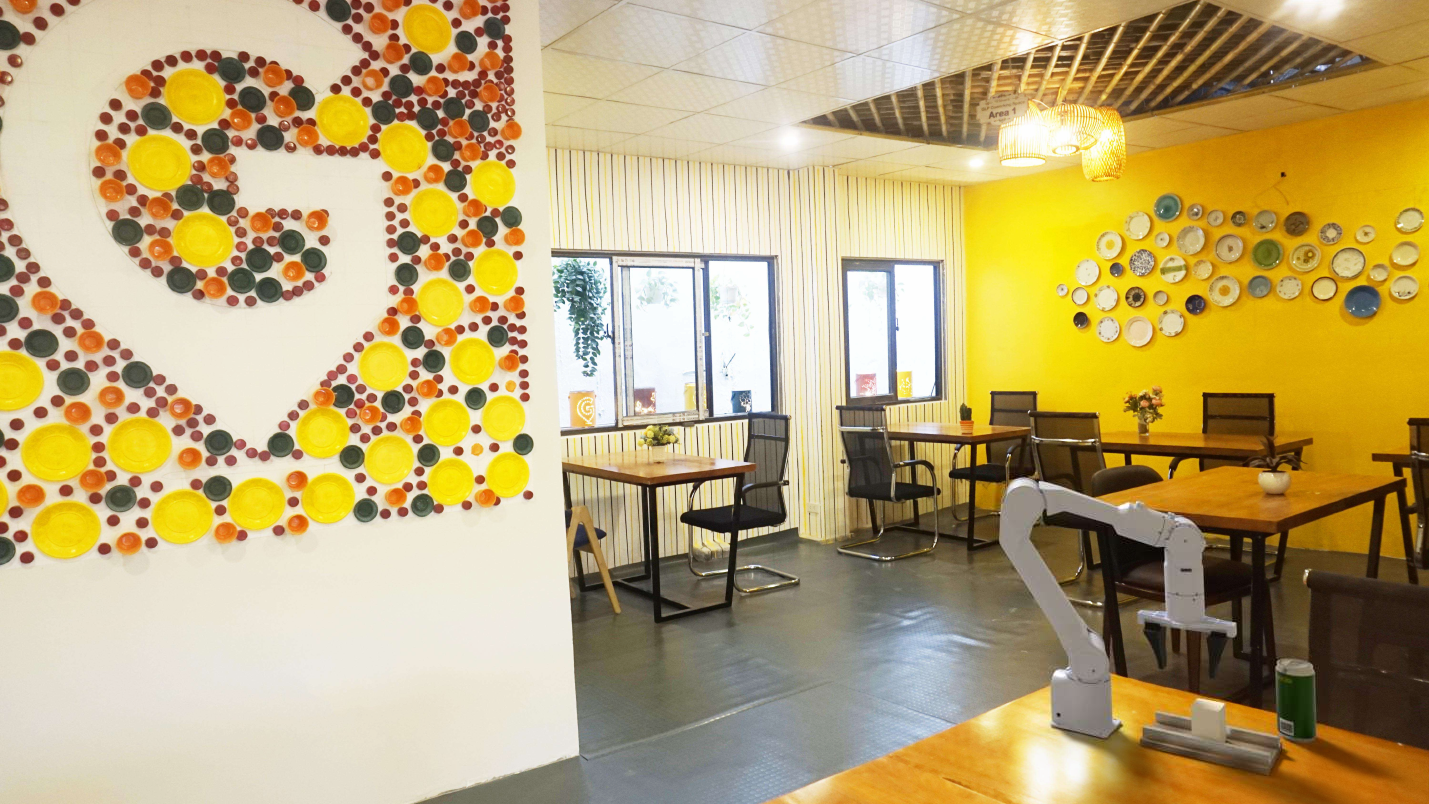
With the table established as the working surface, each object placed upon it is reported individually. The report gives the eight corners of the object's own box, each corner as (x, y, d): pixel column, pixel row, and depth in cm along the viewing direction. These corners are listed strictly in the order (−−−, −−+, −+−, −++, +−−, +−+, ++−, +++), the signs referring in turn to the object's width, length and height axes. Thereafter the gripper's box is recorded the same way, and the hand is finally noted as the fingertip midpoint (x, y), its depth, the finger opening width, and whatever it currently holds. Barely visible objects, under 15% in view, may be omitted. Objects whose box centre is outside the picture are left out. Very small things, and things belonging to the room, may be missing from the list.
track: (1139, 745, 145) (1139, 730, 145) (1160, 721, 153) (1159, 707, 153) (1267, 775, 133) (1267, 758, 133) (1282, 748, 141) (1281, 732, 141)
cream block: (1192, 742, 143) (1190, 706, 143) (1198, 733, 146) (1197, 697, 145) (1219, 748, 140) (1218, 711, 140) (1226, 739, 143) (1225, 703, 143)
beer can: (1307, 746, 141) (1305, 672, 141) (1271, 735, 146) (1268, 663, 145) (1322, 736, 144) (1320, 664, 144) (1286, 726, 149) (1284, 655, 148)
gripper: (1130, 591, 149) (1133, 670, 150) (1227, 603, 139) (1231, 688, 140) (1143, 581, 154) (1146, 658, 155) (1238, 592, 145) (1241, 674, 145)
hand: (1187, 671), depth 148 cm, fingers open, 7 cm apart
